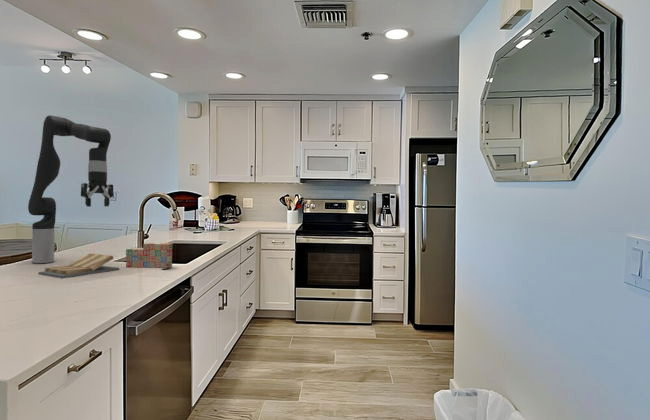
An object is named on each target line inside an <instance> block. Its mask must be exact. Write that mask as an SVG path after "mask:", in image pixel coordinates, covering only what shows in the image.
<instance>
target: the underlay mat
mask: <svg viewBox="0 0 650 420" xmlns="http://www.w3.org/2000/svg"><path fill="white" fill-rule="evenodd" d="M113 271H120V267H116V266H108V265H102V266H100V267H99V268H97V269H95V270H94V271H91V272H85V273H78V274H71V275H65V274H59V273H52V272H46V271H45V270H44V271H39V272H38V273H37V274H38V275H39V276H40V275H41V276H46V277H47V276H48V277H52V278H53V277H54V278H58V279H67V278H74V277H80V276H87V275H94V274H101V273H106V272H113Z"/></svg>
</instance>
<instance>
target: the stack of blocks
mask: <svg viewBox="0 0 650 420" xmlns="http://www.w3.org/2000/svg"><path fill="white" fill-rule="evenodd" d="M125 258H126V259H125V268H142V269H145V268H146V269H169V268H172V267H173V243H171V242H145V243H143V247H131V248H130V247H129V248H126V249H125Z"/></svg>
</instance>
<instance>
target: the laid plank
mask: <svg viewBox="0 0 650 420" xmlns="http://www.w3.org/2000/svg"><path fill="white" fill-rule="evenodd" d="M44 271H46V272H52V273H59V274H65V275H71V274H78V273H85V272H91V268H85V267H77V266H70V265H69V264H68V265H67V264H66V265H59V266H58V265H57V266H52V267H51V266H50V267H45V268H44Z"/></svg>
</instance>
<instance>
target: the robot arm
mask: <svg viewBox="0 0 650 420" xmlns="http://www.w3.org/2000/svg"><path fill="white" fill-rule="evenodd" d="M42 124H43V126H42V135H41V144H40V145H41V146H40V152H39V156H38V160H37V166H36V170H35V171H36V172H35V177H34V183H33V187H32V190H31V192H30V193H31V194H30V197H29V200H28V207H27V210H28V213H29V214H30V215H31V216H42V219H40V220H39V221H35V222H34V223H32V227H31V228H32V231H31V232H32V233H31V235H32V239H31V241H32V243H31V244H32V245H31V252H32V253H31V262H32V264H47V263H53V262H55V224H56V217H57V216H56V215H57V204H56V202H57V201H55V199H54V198H53V197H48V196H47V197H45V196H44V197H43V195H44V193H45V191H46V190H47V188H48V187H49V186H50V185H51V184H52V183H53V182H54V181H55V180H56V178H57V177H58V176H59V174H60V168H61V159H60V157H59V155H58V153H57V150H56V149H55V145H54V137H55V136H57V137H75V138H77V139H79V140H84V141H86V142H89V143H96V144H98V146H97V147H91V148H90V149H89V150H88V167H87V168H88V169H87V171H88V172H87V175H88V176H87V178H88V183H87V182H86V183H85V182H82V183H81V184H80V197H82V198H85V203H84V204H85V206H86V207H92V198H91V197H92V196H93V195H94V194H101V195H102V196H103V197H104V200H103V206H104V207H109V206H110V199H111V198H113V197H114V192H115V191H114V185H113V184H108V183H107V181H108V163H107V153H108V150H109V149H108V148H109V146H110V142H111V141H112V140H111V139H112V135H111V133H110V131H109V130H108V129H106V128H101V127H96V126H91V125H87V124H85V123H84V124H83V123H76V122H74V121H72V120H70V119H68V118H65V117H61V116H55V115H50V114H49V115H47V116H46V117H45V118H44V121H43V123H42Z"/></svg>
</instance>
